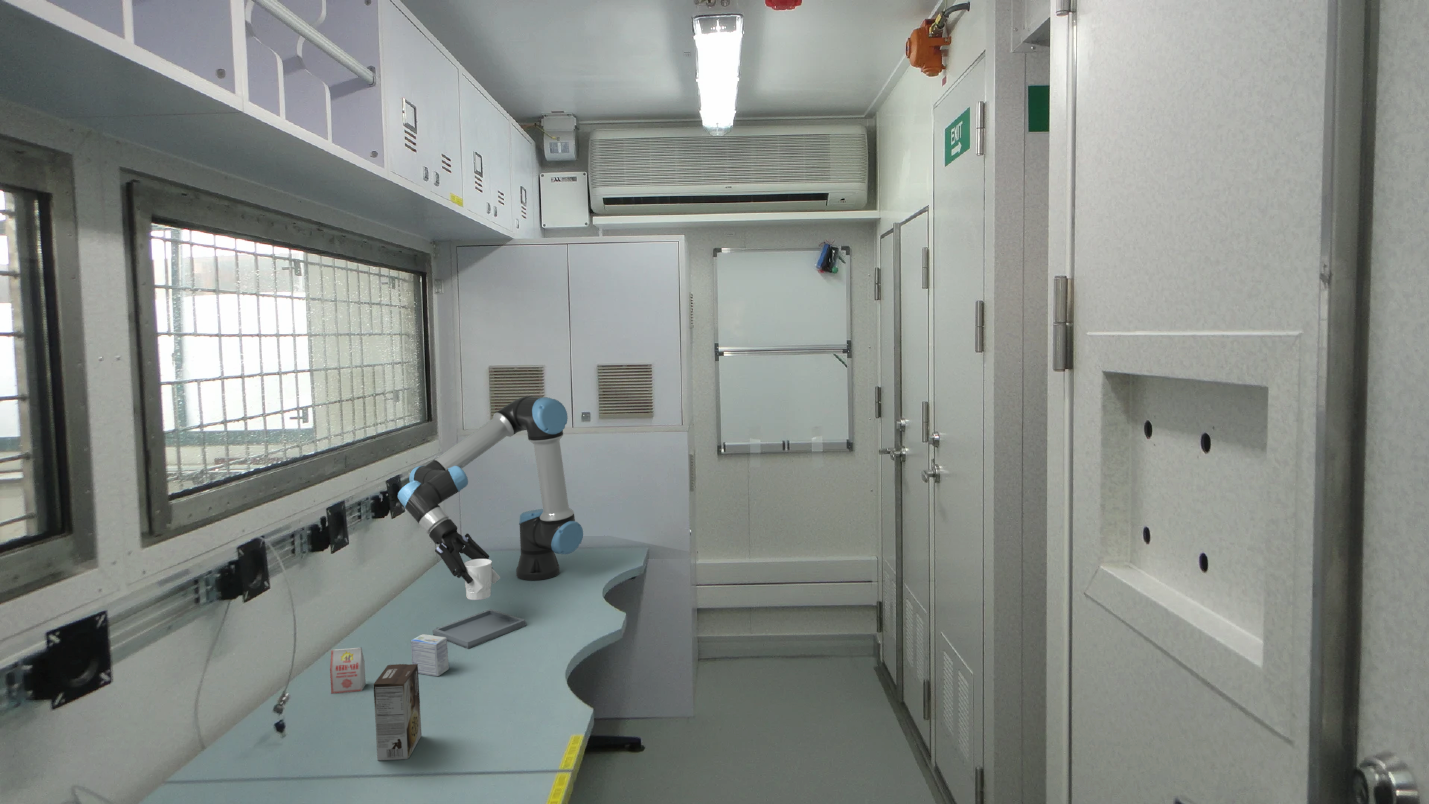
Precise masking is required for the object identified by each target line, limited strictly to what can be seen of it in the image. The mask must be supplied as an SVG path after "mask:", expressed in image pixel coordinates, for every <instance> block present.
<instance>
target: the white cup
mask: <svg viewBox="0 0 1429 804" xmlns="http://www.w3.org/2000/svg"><path fill="white" fill-rule="evenodd" d="M464 565H465V567H466V569H467V570H470V571H471V572H472V573H473V574H474V575H475V577H476V578H477V579H478V580H479V581H480V582H481V584H482V585H483V586H484V587H483V588H482V589H481V590H480V591H479V592H478V593H476V592H475V591H474V589H473V588H472V587H471V586H470V585H469V584H468V583H467V582H466V581H465V580H464V587H465V588H464V589H465V594H466V595H465V596H466V598H467V599H468V600H469V601H480V600H486V599H488V598H490V597H491V595H492V582H491V580H492V568H493V561H492V559H474V560H472V559H470V560H467V561H464ZM467 570H466V571H467Z"/></svg>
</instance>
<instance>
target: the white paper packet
mask: <svg viewBox="0 0 1429 804" xmlns="http://www.w3.org/2000/svg"><path fill="white" fill-rule="evenodd" d="M330 652H331V653H330V665H329V673H330V675H329V676H330V691H331V693H330V694H343V693H354V692H362V691H363V689H364V688H365V686H366V684H367V683H366V664H365V661H366V660H365V658H364V654H363V647H353V648H352V647H350V648H340V649H339V648H337V649H331V650H330Z"/></svg>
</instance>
